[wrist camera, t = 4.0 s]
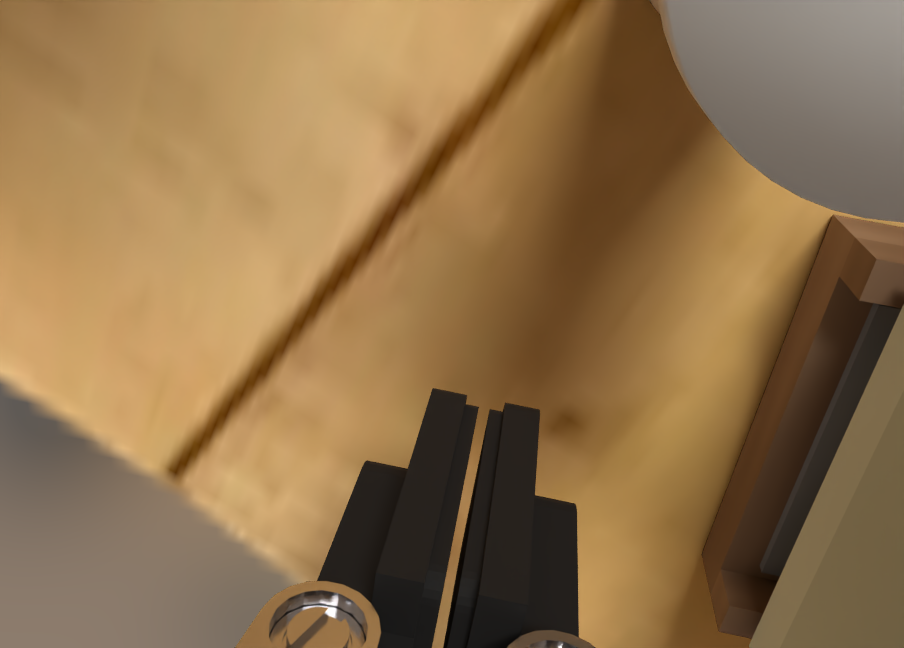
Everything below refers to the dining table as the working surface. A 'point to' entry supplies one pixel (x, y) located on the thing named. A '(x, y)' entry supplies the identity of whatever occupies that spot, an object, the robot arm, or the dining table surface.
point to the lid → (851, 533)
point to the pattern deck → (803, 415)
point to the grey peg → (802, 92)
